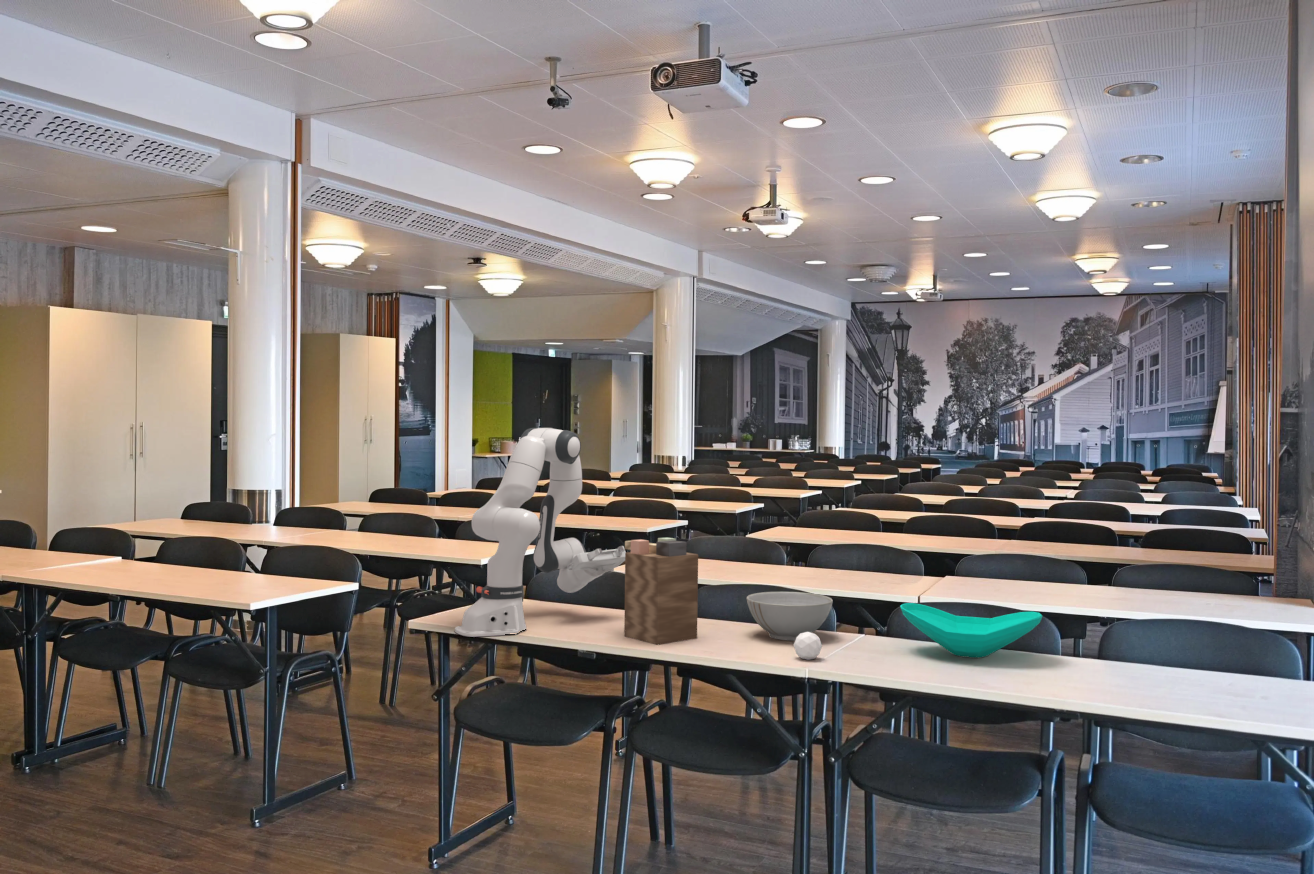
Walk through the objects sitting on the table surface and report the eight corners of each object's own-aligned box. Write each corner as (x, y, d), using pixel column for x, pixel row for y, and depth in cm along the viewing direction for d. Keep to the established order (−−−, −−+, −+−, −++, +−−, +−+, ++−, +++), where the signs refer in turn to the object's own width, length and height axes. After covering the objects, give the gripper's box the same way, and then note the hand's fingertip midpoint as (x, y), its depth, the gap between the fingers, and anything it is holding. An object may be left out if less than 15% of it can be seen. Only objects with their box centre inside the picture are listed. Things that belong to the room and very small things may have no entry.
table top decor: (1042, 652, 310) (1043, 607, 310) (1040, 672, 284) (1041, 623, 284) (906, 640, 324) (906, 598, 324) (892, 658, 299) (893, 612, 299)
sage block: (657, 550, 332) (657, 538, 332) (667, 549, 334) (667, 537, 334) (666, 552, 329) (666, 539, 329) (675, 551, 331) (675, 538, 331)
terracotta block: (630, 553, 325) (630, 540, 324) (640, 552, 327) (640, 539, 327) (638, 554, 321) (639, 541, 321) (648, 553, 324) (649, 540, 324)
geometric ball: (811, 670, 295) (812, 651, 290) (787, 656, 299) (788, 637, 294) (826, 653, 300) (827, 634, 295) (802, 640, 304) (804, 621, 299)
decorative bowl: (732, 639, 323) (733, 600, 323) (765, 625, 347) (765, 589, 347) (815, 648, 311) (816, 608, 311) (843, 633, 334) (844, 595, 334)
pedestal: (624, 636, 326) (625, 552, 326) (663, 630, 336) (664, 549, 336) (657, 644, 314) (658, 557, 314) (697, 638, 324) (698, 554, 324)
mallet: (620, 549, 335) (620, 536, 335) (637, 547, 339) (637, 535, 339) (669, 556, 317) (669, 543, 317) (686, 555, 321) (686, 542, 321)
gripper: (561, 560, 348) (583, 543, 339) (609, 554, 361) (631, 538, 352) (567, 578, 346) (589, 561, 337) (615, 571, 359) (638, 555, 350)
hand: (611, 549), depth 345 cm, fingers open, 8 cm apart
